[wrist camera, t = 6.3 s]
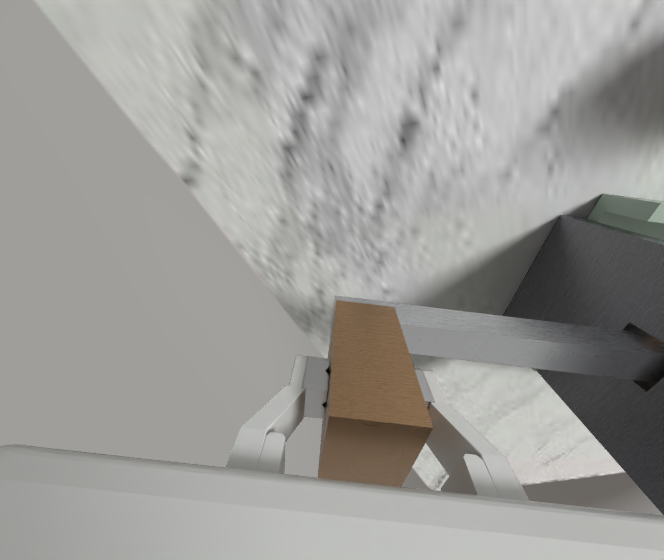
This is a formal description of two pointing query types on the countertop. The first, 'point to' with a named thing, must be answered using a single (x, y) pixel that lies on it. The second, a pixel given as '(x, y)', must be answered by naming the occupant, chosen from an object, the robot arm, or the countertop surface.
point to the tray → (630, 215)
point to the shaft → (449, 342)
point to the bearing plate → (612, 313)
